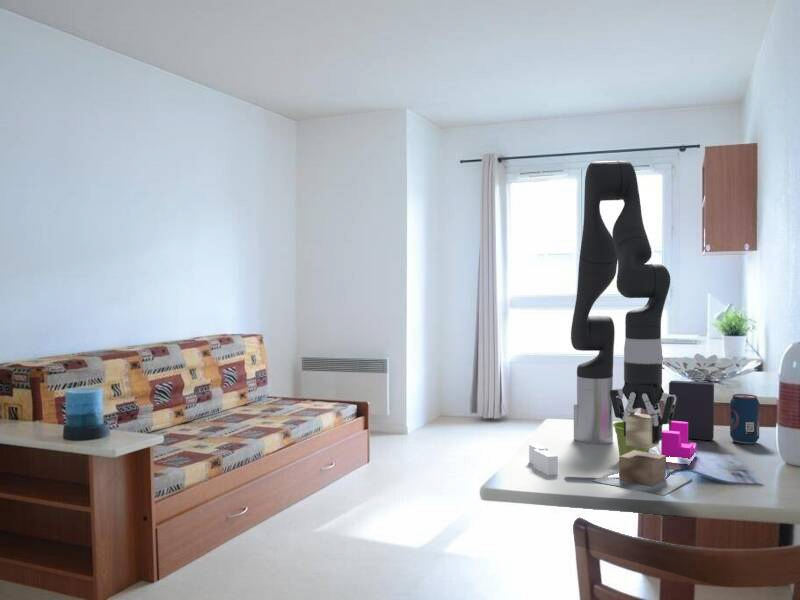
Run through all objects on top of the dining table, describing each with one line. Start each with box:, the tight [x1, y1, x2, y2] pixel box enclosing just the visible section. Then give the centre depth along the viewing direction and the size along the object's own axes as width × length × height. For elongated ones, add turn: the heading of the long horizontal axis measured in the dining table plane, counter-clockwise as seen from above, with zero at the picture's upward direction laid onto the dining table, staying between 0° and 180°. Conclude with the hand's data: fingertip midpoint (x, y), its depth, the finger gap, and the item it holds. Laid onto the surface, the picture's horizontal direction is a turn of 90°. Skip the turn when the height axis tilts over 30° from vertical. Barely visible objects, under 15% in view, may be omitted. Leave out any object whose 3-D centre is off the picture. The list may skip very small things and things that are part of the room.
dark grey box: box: [668, 380, 715, 441], centre depth 189 cm, size 11×4×15 cm, turn 63°
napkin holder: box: [528, 443, 559, 476], centre depth 157 cm, size 15×11×6 cm
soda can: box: [729, 393, 761, 444], centre depth 184 cm, size 7×7×12 cm
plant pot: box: [613, 421, 650, 456], centre depth 164 cm, size 9×9×9 cm
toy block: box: [660, 421, 697, 459], centre depth 168 cm, size 15×6×8 cm, turn 150°
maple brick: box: [626, 412, 660, 450], centre depth 146 cm, size 5×5×6 cm
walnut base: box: [592, 450, 693, 497], centre depth 147 cm, size 15×15×6 cm
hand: (642, 440), depth 146 cm, fingers closed on maple brick, 5 cm apart
